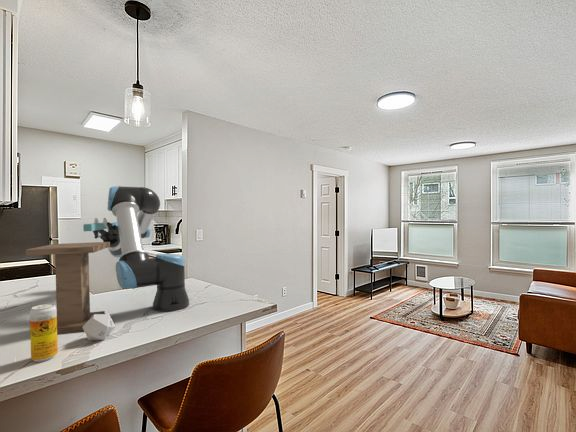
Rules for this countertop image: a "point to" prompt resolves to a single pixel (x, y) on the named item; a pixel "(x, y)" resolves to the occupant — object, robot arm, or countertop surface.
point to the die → (98, 327)
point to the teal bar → (93, 226)
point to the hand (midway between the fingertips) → (99, 220)
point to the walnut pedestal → (71, 282)
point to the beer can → (43, 332)
